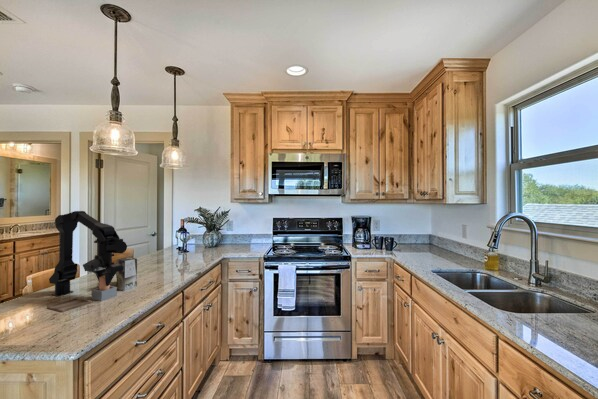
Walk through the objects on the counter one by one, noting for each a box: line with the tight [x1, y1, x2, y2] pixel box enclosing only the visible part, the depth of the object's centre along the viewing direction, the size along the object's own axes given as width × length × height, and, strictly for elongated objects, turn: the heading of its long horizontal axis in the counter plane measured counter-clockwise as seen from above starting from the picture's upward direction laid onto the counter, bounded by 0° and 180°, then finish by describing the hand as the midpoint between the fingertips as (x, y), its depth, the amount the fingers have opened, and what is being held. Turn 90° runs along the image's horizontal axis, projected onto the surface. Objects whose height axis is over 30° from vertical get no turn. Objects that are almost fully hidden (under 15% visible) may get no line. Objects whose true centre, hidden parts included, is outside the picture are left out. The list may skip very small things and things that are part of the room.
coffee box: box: [116, 256, 138, 292], centre depth 143 cm, size 9×6×16 cm
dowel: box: [98, 276, 111, 291], centre depth 128 cm, size 4×4×10 cm
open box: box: [91, 285, 118, 302], centre depth 128 cm, size 7×7×5 cm
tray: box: [46, 297, 93, 313], centre depth 118 cm, size 11×11×1 cm
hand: (104, 285), depth 128 cm, fingers closed on dowel, 4 cm apart
